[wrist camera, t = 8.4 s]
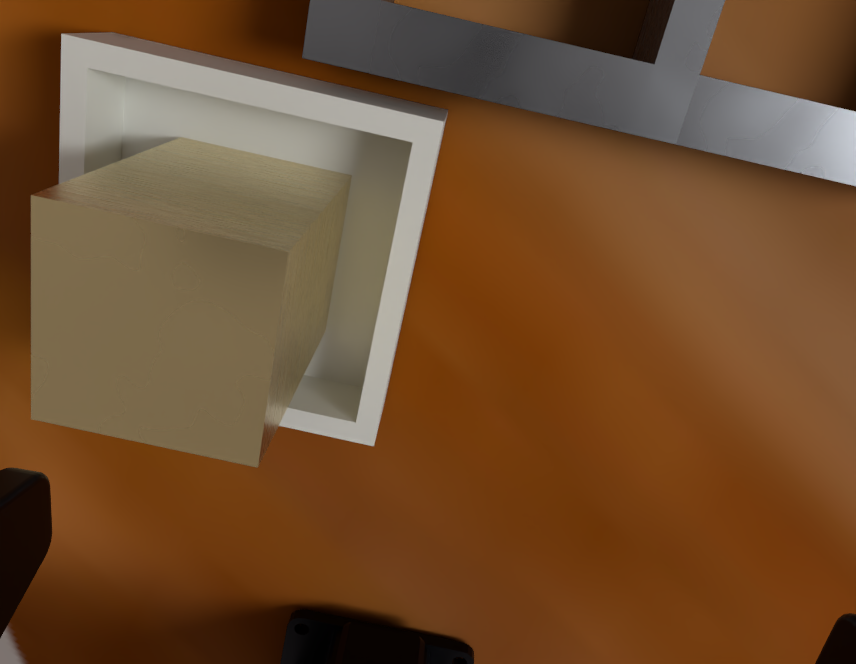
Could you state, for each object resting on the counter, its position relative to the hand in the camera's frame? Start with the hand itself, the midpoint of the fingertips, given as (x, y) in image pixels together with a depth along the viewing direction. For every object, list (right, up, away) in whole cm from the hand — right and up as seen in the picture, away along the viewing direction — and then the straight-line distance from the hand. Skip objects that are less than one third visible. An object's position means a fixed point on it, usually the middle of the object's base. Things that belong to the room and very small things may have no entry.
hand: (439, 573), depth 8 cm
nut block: (-5, +5, +12) cm, 14 cm away
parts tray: (-5, +5, +12) cm, 14 cm away
